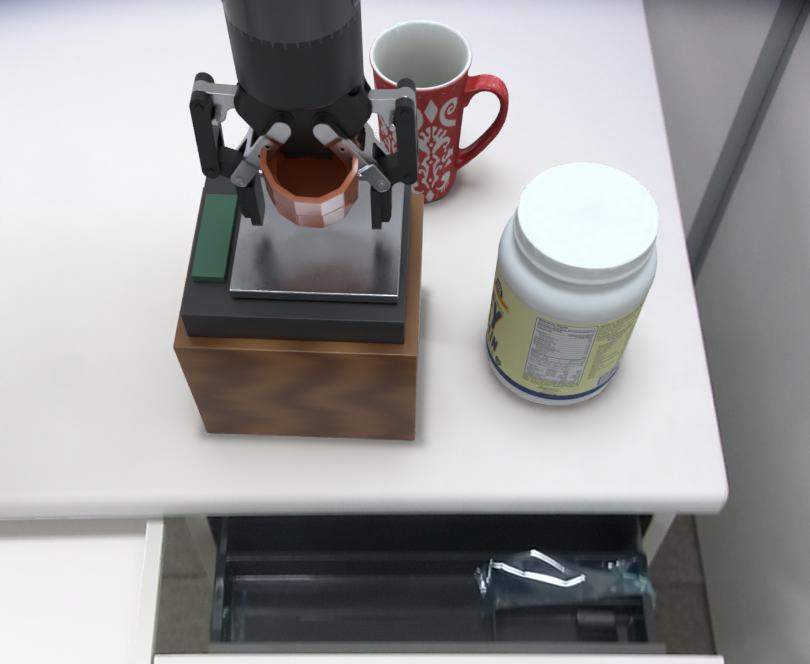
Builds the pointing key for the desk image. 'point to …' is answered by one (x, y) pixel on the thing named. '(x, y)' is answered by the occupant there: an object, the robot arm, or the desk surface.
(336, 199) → the bowl
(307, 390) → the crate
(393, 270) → the scale pan
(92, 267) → the desk surface
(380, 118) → the mug
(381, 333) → the scale
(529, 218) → the supplement tub
